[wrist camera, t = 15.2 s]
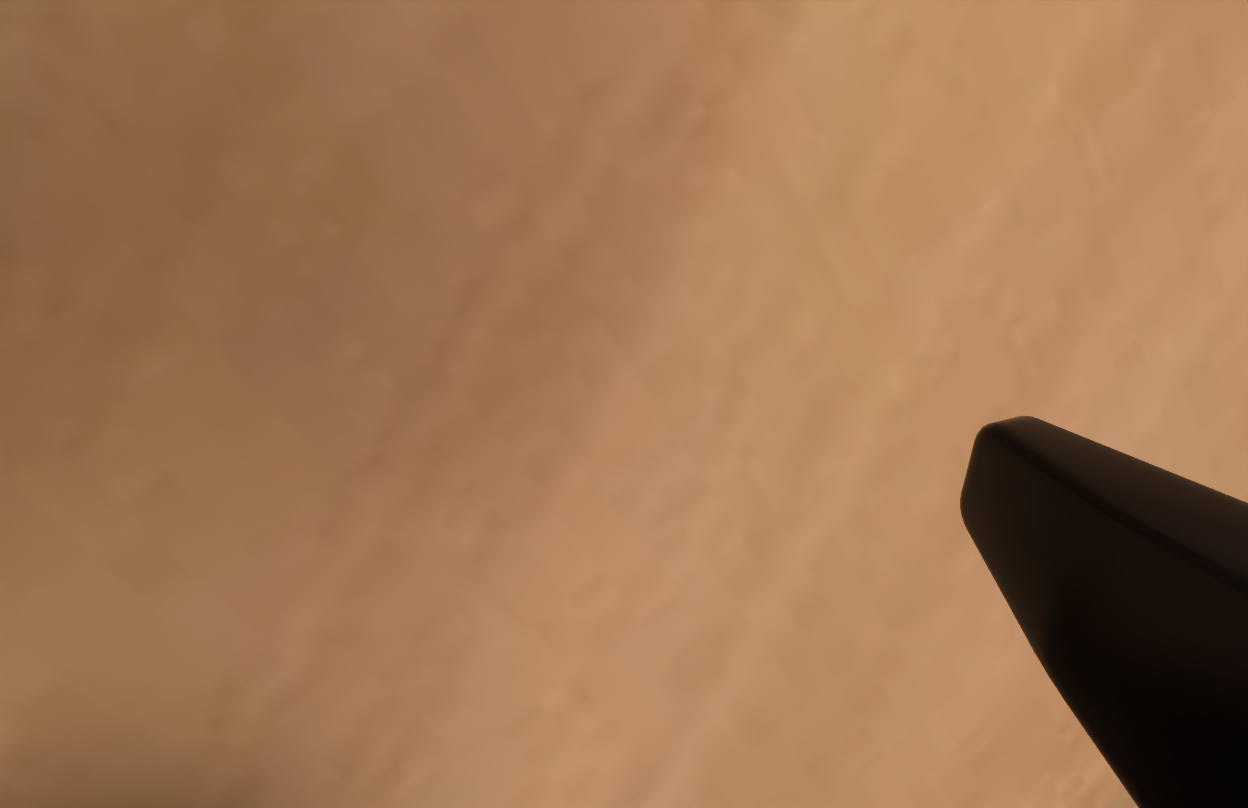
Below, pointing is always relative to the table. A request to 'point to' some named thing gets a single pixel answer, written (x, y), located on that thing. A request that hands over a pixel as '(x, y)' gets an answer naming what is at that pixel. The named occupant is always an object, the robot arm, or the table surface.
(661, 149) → the table surface
